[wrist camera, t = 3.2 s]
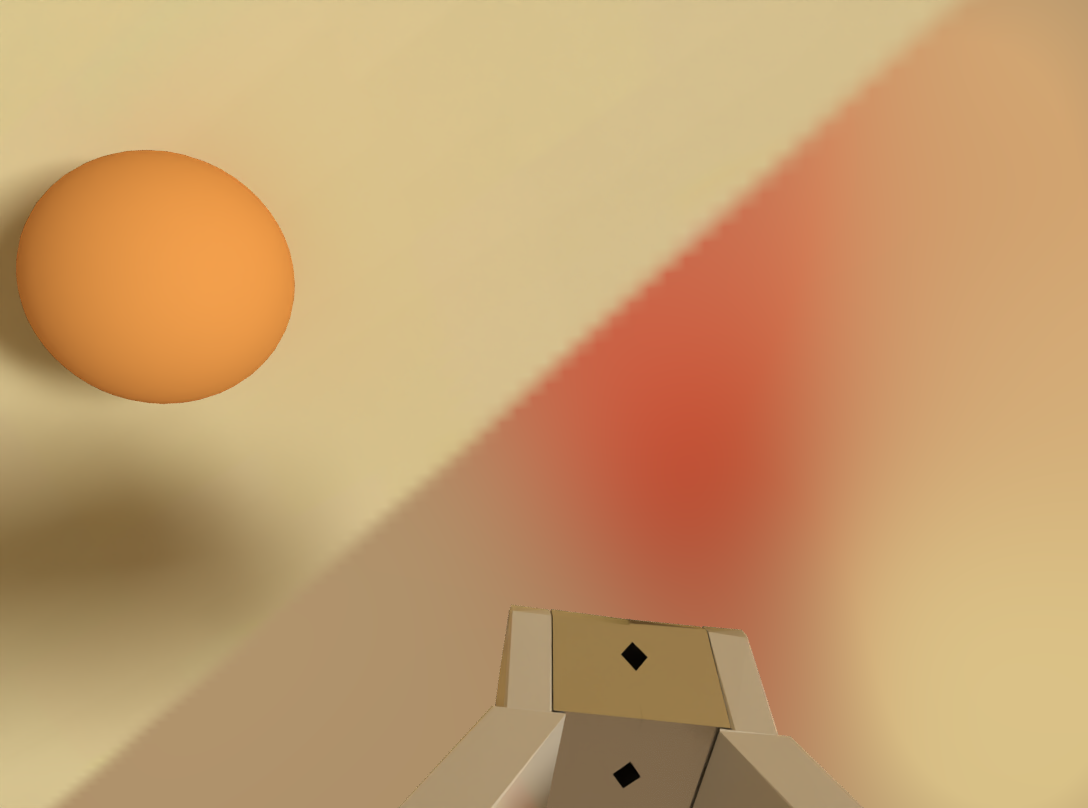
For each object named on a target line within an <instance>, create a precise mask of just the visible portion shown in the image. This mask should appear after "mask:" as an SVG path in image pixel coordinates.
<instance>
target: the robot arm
mask: <svg viewBox="0 0 1088 808" xmlns="http://www.w3.org/2000/svg"><path fill="white" fill-rule="evenodd" d="M399 808H863V807H862V806H861V805H860V804H859V803H858V802H857V801H856V800H855V799H854V798H853V797H852V796H851V795H850V794H849V793H848V792H847V791H846V790H845V789H844V788H843V787H842V786H841V785H840V784H838V783H837V781H836V780H834V779H833V778H832V777H831V776H830V775H829V774H828V773H827V772H826V771H825V770H824V769H823V768H822V767H821V766H820V765H819V764H818V763H817V762H816V761H815V760H814V759H813V758H812V757H811V756H810V755H809V754H808V753H807V752H806V751H805V750H804V749H803V748H802V747H801V746H800V745H799V744H797V743H796V742H795V741H794V740H793V739H792V738H791V737H790V736H782V735H778V733H777V729H776V726H775V723H774V720H773V717H772V713H771V710H770V707H769V704H768V701H767V698H766V695H765V691H764V688H763V685H762V682H761V679H760V676H759V672H758V669H757V666H756V663H755V660H754V657H753V654H752V650H751V647H750V644H749V641H748V638H747V635H746V634H745V633H744V632H743V631H742V630H738V629H726V628H716V627H705V626H703V627H702V628H701V627H698V626H689V625H679V624H669V623H659V622H650V621H639V620H630V619H621V618H613V617H606V616H598V615H591V614H583V613H576V612H568V611H560V610H553V609H551V611H549V610H547V609H539V608H532V607H525V606H517V605H511V607H510V610H509V615H508V621H507V628H506V634H505V640H504V647H503V653H502V660H501V666H500V673H499V680H498V689H497V696H496V703H495V706H491V708H490V709H489V710H488V711H487V712H486V713H485V714H484V715H483V716H482V717H481V718H480V719H479V721H478V722H477V723H476V724H475V725H474V726H473V727H472V728H471V729H470V730H469V732H468V733H467V734H466V735H465V736H464V737H463V738H462V739H461V740H460V741H459V742H458V743H457V744H456V746H455V747H454V748H453V749H452V750H451V751H450V752H449V753H448V754H447V755H446V757H445V758H444V759H443V760H442V761H441V762H440V763H439V764H438V765H437V766H436V767H435V768H434V770H433V771H432V772H431V773H430V774H429V775H428V776H427V777H426V778H425V779H424V781H423V782H422V783H421V784H420V785H419V786H418V787H417V788H416V789H415V790H414V791H413V792H412V793H411V795H410V796H409V797H408V798H407V799H406V800H405V801H404V802H403V803H402V804H401V805H400V807H399Z"/></svg>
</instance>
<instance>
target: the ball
mask: <svg viewBox="0 0 1088 808" xmlns="http://www.w3.org/2000/svg"><path fill="white" fill-rule="evenodd" d="M16 277H17V285H18V291H19V295H20V299H21V303H22V306H23V309H24V312H25V314H26V317H27V319H28V321H29V323H30V325H31V327H32V329H33V330H34V332H35V334H36V335H37V337H38V338H39V340H40V341H41V342H42V344H43V345H44V346H45V348H46V349H47V350H48V351H49V352H50V353H51V354H52V356H53V357H54V358H55V359H57V360H58V361H59V362H60V363H61V364H62V365H63V366H64V367H65V368H67V369H68V370H69V371H70V372H72V373H73V374H74V375H76V376H77V377H79V378H80V379H82V380H83V381H85V382H87V383H88V384H90V385H92V386H94V387H96V388H98V389H100V390H102V391H105V392H107V393H110V394H112V395H115V396H119V397H122V398H126V399H130V400H135V401H141V402H147V403H159V404H167V403H183V402H190V401H195V400H200V399H203V398H206V397H209V396H213V395H216V394H218V393H221V392H223V391H225V390H227V389H229V388H232V387H233V386H235V385H237V384H238V383H240V382H241V381H243V380H244V379H246V378H247V377H249V376H250V375H251V374H253V373H254V372H255V371H256V370H257V369H258V368H259V367H260V366H261V365H262V364H263V363H264V362H265V361H266V360H267V359H268V357H269V356H270V355H271V354H272V352H273V351H274V350H275V348H276V347H277V345H278V343H279V341H280V339H281V338H282V336H283V334H284V332H285V330H286V327H287V325H288V322H289V319H290V315H291V310H292V305H293V301H294V288H295V282H294V271H293V264H292V260H291V255H290V251H289V248H288V246H287V243H286V240H285V237H284V235H283V233H282V231H281V229H280V227H279V225H278V224H277V222H276V221H275V219H274V218H273V216H272V215H271V213H270V211H269V210H268V209H267V208H266V207H265V205H264V204H263V203H262V202H261V201H260V199H259V198H258V197H257V196H256V195H255V194H254V193H252V192H251V191H250V190H249V189H248V188H247V187H246V186H245V185H243V184H242V183H241V182H239V181H238V180H237V179H236V178H234V177H233V176H231V175H229V174H228V173H226V172H224V171H223V170H221V169H219V168H217V167H215V166H213V165H211V164H209V163H206V162H204V161H201V160H198V159H195V158H192V157H189V156H186V155H182V154H177V153H172V152H167V151H153V150H138V151H125V152H120V153H115V154H111V155H107V156H103V157H100V158H97V159H95V160H92V161H89V162H87V163H85V164H83V165H81V166H80V167H78V168H76V169H74V170H73V171H71V172H69V173H67V174H66V175H64V176H63V177H62V178H61V179H59V180H58V181H57V182H56V183H55V184H53V185H52V186H51V187H50V188H49V189H48V190H47V191H46V193H45V194H44V195H43V196H42V197H41V199H40V200H39V201H38V202H37V203H36V205H35V207H34V209H33V210H32V212H31V214H30V216H29V217H28V219H27V221H26V223H25V226H24V228H23V231H22V234H21V237H20V242H19V247H18V253H17V259H16Z"/></svg>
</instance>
